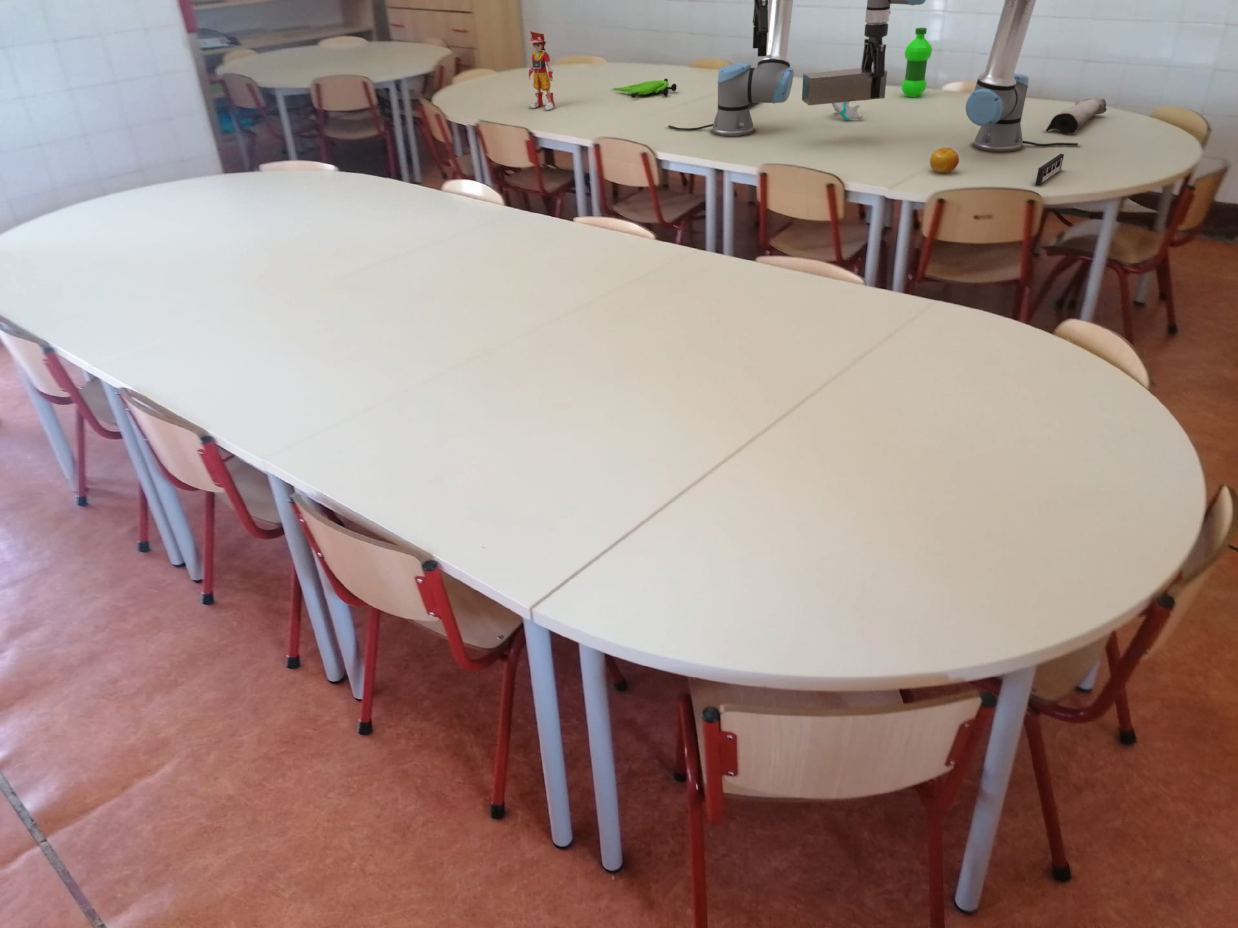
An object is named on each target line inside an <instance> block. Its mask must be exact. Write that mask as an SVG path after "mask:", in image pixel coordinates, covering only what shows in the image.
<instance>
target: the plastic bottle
mask: <svg viewBox="0 0 1238 928" xmlns="http://www.w3.org/2000/svg"><path fill="white" fill-rule="evenodd" d="M927 30H928V28H927V27H916V28H915V32H914V34H915V38H914V39H913V40H911V41H910V42H909V43H908V44H907V46H906V47H905V50H904V58H905V59H906V68H905V74H904V75H905V76H904V79H903V81H902V83H901V91H902V92H903V94H904V95H906V96H905V97H908V98H917V97H920V96H921V95H922V94H923V93H924V92H925V90H926V88H927V80H926V73H927V65H928V61H929V59H930V58H931V56H932V53H933V47H932V46H933V45H932V44H931V43H930V41H928V39H926V38H925V35H926V34H927V32H928V31H927Z"/></svg>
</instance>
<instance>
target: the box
mask: <svg viewBox="0 0 1238 928" xmlns="http://www.w3.org/2000/svg"><path fill="white" fill-rule="evenodd" d="M873 76H874V68H873V66H872V67H869V68H861V67H859V68H848V69H838V70H837V69H836V70H825V71H816V72H806V73H805V72H804V73H802V90H801V91H802V92H801V101H802V102H803V103H805V104H806V105H807V106H817V105H828V104H829V105H830V104H832V103H840V102H849V103H851V102H859V101H860V102H861V101H869V100H870V101H871V100H881V99H885V98H886V90H887V89H886V87H887V78H888V71H887V70H886V69H885V71H884V77H882V78H881V84H880V95H879V98H871V90H872V79H873V78H872V77H873Z"/></svg>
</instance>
